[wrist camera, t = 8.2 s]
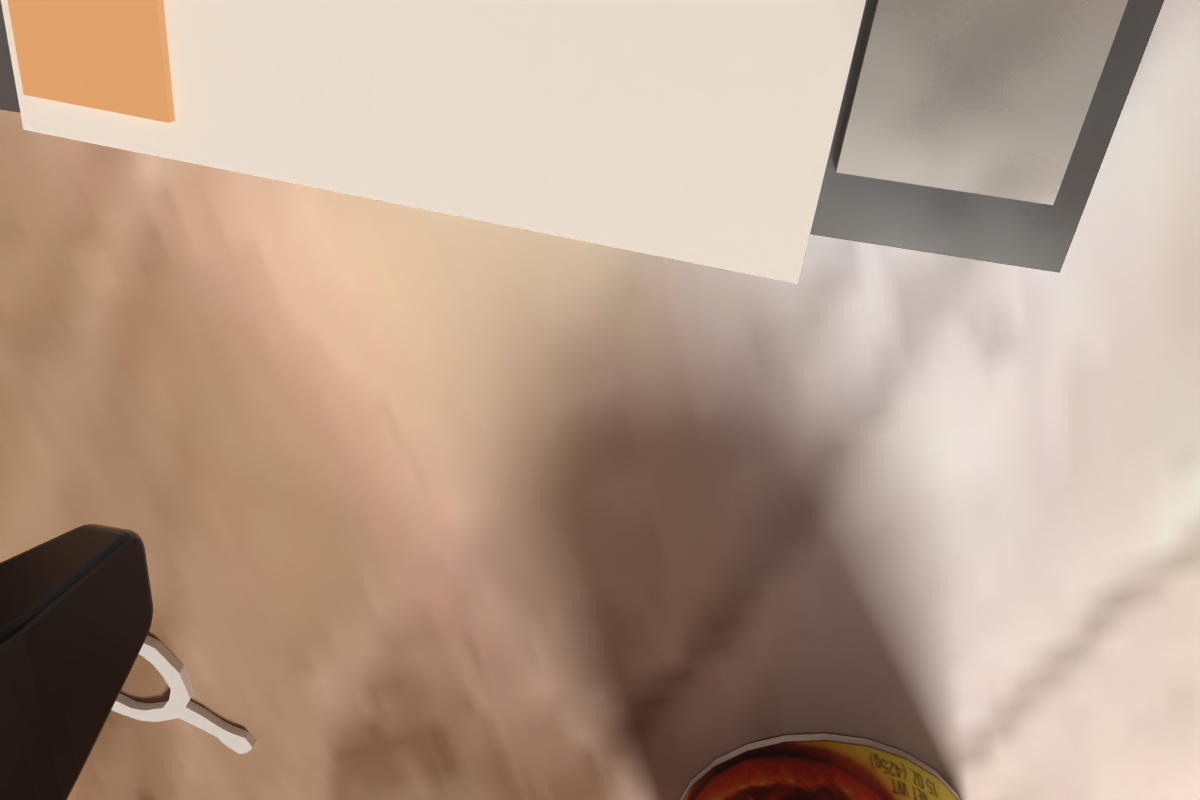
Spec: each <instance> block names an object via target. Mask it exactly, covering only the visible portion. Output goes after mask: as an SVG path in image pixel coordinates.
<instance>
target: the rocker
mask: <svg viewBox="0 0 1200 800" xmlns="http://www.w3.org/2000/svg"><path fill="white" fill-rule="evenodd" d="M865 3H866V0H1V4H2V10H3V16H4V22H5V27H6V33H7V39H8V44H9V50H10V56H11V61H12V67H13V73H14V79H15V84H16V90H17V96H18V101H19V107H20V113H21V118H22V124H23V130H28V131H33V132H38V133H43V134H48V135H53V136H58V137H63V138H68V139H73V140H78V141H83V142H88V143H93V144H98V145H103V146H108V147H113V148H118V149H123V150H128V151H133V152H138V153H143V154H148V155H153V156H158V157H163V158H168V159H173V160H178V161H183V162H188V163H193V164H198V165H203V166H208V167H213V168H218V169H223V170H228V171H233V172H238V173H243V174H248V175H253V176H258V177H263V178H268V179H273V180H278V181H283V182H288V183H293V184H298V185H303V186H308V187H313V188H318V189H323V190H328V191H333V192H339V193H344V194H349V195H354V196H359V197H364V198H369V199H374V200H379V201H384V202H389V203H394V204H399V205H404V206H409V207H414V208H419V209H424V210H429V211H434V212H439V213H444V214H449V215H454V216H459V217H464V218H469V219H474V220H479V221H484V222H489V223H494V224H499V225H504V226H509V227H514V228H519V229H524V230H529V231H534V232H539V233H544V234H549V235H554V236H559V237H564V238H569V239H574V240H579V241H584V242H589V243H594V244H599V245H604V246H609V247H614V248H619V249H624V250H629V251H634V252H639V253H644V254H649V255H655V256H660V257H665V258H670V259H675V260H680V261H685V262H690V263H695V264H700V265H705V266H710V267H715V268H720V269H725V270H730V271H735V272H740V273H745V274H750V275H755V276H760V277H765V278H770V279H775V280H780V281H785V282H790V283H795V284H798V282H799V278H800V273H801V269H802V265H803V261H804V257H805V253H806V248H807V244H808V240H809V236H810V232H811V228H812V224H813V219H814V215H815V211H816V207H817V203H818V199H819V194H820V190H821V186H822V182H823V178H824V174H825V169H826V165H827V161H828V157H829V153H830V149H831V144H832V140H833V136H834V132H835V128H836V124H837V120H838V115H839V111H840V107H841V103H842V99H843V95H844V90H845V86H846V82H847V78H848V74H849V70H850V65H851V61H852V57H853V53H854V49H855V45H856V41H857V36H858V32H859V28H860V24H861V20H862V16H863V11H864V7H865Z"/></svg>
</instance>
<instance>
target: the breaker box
mask: <svg viewBox="0 0 1200 800" xmlns="http://www.w3.org/2000/svg"><path fill="white" fill-rule="evenodd" d="M1163 2H1164V0H866V3H865V7H864V11H863V16H862V20H861V24H860V28H859V32H858V36H857V41H856V45H855V49H854V53H853V57H852V61H851V65H850V70H849V74H848V78H847V82H846V86H845V90H844V95H843V99H842V103H841V107H840V111H839V115H838V120H837V124H836V128H835V132H834V136H833V140H832V144H831V149H830V153H829V157H828V161H827V165H826V169H825V174H824V178H823V182H822V186H821V190H820V194H819V199H818V203H817V207H816V211H815V215H814V219H813V224H812V228H811V232H810V234H813V235H819V236H826V237H832V238H839V239H845V240H852V241H858V242H865V243H871V244H878V245H884V246H891V247H897V248H904V249H910V250H917V251H923V252H930V253H936V254H943V255H949V256H956V257H962V258H968V259H975V260H981V261H988V262H994V263H1001V264H1007V265H1014V266H1020V267H1027V268H1033V269H1040V270H1046V271H1053V272H1059V273H1060V270H1061V268H1062V265H1063V263H1064V260H1065V257H1066V255H1067V252H1068V249H1069V247H1070V244H1071V242H1072V239H1073V236H1074V234H1075V231H1076V229H1077V226H1078V223H1079V221H1080V218H1081V216H1082V213H1083V210H1084V208H1085V205H1086V203H1087V200H1088V197H1089V195H1090V192H1091V190H1092V187H1093V184H1094V182H1095V179H1096V176H1097V174H1098V171H1099V169H1100V166H1101V163H1102V161H1103V158H1104V156H1105V153H1106V150H1107V148H1108V145H1109V143H1110V140H1111V137H1112V135H1113V132H1114V130H1115V127H1116V124H1117V122H1118V119H1119V117H1120V114H1121V111H1122V109H1123V106H1124V103H1125V101H1126V98H1127V96H1128V93H1129V90H1130V88H1131V85H1132V83H1133V80H1134V77H1135V75H1136V72H1137V70H1138V67H1139V64H1140V62H1141V59H1142V57H1143V54H1144V51H1145V49H1146V46H1147V44H1148V41H1149V38H1150V36H1151V33H1152V30H1153V28H1154V25H1155V23H1156V20H1157V17H1158V15H1159V12H1160V10H1161V7H1162V4H1163ZM0 109H1V110H7V111H14V112H20V107H19V101H18V96H17V90H16V84H15V79H14V73H13V67H12V61H11V56H10V50H9V44H8V39H7V33H6V27H5V22H4V16H3V10H2V4H1V0H0Z"/></svg>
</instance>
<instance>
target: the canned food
mask: <svg viewBox="0 0 1200 800" xmlns="http://www.w3.org/2000/svg"><path fill="white" fill-rule="evenodd" d="M680 800H960V798H959V796H958V794H957V793H956V792H955V791H954V790H953V789H952V788H951V786H950V785H949V784H948V783H947V782H946V781H945V780H944V779H943V778H942V777H941V776H940V775H939V774H938V773H937V772H936V771H935V770H934V769H932V768H931V767H929V766H927V765H926V764H924V763H922V762H921V761H919V760H917V759H916V758H914V757H912V756H911V755H909V754H907V753H906V752H904V751H901V750H898V749H895V748H892V747H889V746H886V745H884V744H881V743H878V742H875V741H872V740H869V739H865V738H857V737H850V736H842V735H835V734H828V733H820V734H799V735H783V736H779V737H775V738H771V739H767V740H763V741H758V742H754V743H750V744H746V745H744V746H742V747H740V748H738V749H736V750H734V751H732V752H730V753H728V754H726V755H724V756H722V757H720V758H718V759H715V760H714V761H713V762H712V763H711V764H710V765H708V766H707V767H706V768H705V769H704V770H703V771H701V772H700V773H699V774H698V775H697V776H696V777H694V778H693V779H692V780H691V781H690V783H689V785H688V786H687V788H686V790H685V791H684V793H683V795H682V796H681V798H680Z"/></svg>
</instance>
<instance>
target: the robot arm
mask: <svg viewBox="0 0 1200 800" xmlns="http://www.w3.org/2000/svg"><path fill="white" fill-rule="evenodd" d="M152 617H153V602H152V595H151V588H150V581H149V575H148V568H147V561H146V554H145V548H144V544H143V541H142V539H141V537H140V536H139V535H138V534H137V533H135V532H133V531H131V530H127V529H121V528H115V527H109V526H103V525H97V524H88V525H83V526H81V527H78V528H76V529H73V530H71V531H69V532H67V533H65V534H62V535H60V536H58V537H56V538H54V539H52V540H49V541H47V542H45V543H43V544H41V545H38V546H36V547H34V548H32V549H30V550H28V551H25V552H23V553H21V554H19V555H17V556H14V557H12V558H10V559H8V560H6V561H4V562H1V563H0V800H67V798H68V796H69V794H70V792H71V791H72V789H73V787H74V785H75V783H76V781H77V779H78V777H79V775H80V773H81V771H82V769H83V767H84V765H85V763H86V761H87V759H88V757H89V755H90V753H91V751H92V748H93V746H94V744H95V742H96V740H97V738H98V736H99V734H100V732H101V730H102V728H103V726H104V724H105V722H106V720H107V718H108V716H109V714H110V712H111V710H112V707H113V705H114V703H115V701H116V699H117V697H118V695H119V693H120V691H121V689H122V687H123V685H124V683H125V681H126V679H127V677H128V675H129V673H130V671H131V668H132V666H133V664H134V662H135V660H136V658H137V656H138V654H139V652H140V650H141V648H142V646H143V644H144V642H145V640H146V637H147V635H148V633H149V630H150V626H151V622H152Z"/></svg>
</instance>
